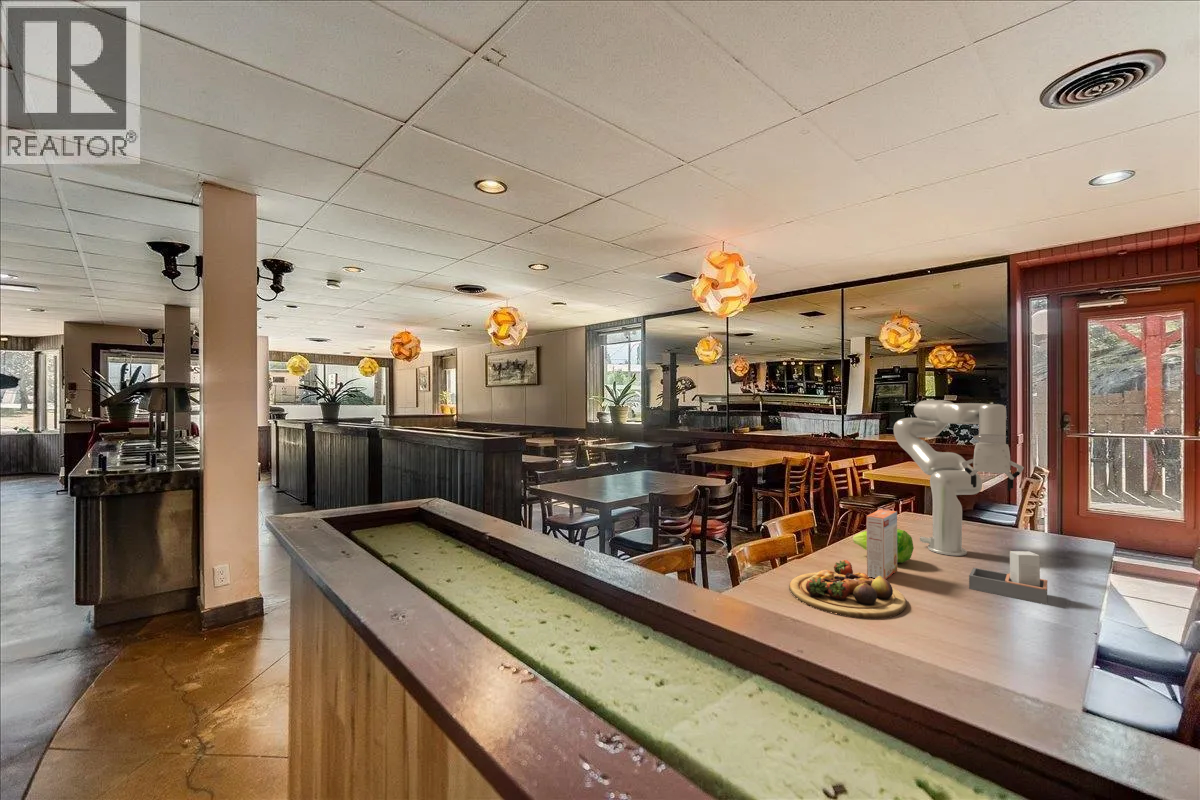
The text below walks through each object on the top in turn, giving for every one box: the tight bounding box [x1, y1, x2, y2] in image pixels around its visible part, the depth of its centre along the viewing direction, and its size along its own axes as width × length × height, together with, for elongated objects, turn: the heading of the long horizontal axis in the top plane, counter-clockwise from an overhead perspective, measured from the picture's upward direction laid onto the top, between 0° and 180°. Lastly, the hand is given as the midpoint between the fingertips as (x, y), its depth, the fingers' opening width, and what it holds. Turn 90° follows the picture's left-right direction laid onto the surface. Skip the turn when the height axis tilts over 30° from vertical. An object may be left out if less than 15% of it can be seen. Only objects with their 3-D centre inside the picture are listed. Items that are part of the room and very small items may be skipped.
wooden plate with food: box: [788, 559, 907, 620], centre depth 156 cm, size 32×32×8 cm
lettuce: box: [852, 528, 915, 564], centre depth 191 cm, size 14×20×12 cm
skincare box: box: [1009, 550, 1041, 587], centre depth 157 cm, size 6×4×12 cm
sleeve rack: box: [968, 567, 1048, 605], centre depth 160 cm, size 18×10×4 cm, turn 48°
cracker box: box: [865, 508, 898, 580], centre depth 175 cm, size 14×6×21 cm, turn 135°
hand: (991, 488), depth 180 cm, fingers open, 9 cm apart
